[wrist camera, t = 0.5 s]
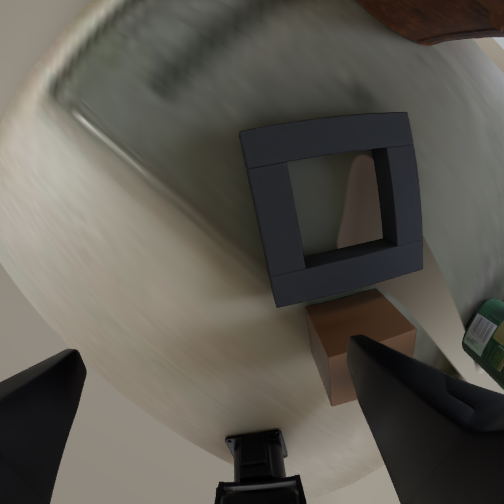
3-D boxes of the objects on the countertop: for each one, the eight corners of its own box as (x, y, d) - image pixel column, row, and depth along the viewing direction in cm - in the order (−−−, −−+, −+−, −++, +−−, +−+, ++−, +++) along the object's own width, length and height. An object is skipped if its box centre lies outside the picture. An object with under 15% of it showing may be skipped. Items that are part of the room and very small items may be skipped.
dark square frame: (407, 259, 22) (423, 269, 20) (272, 293, 23) (276, 308, 20) (391, 116, 19) (407, 111, 16) (238, 135, 19) (238, 131, 17)
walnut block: (376, 334, 25) (413, 384, 17) (311, 353, 25) (333, 412, 17) (376, 288, 23) (421, 333, 16) (305, 306, 23) (330, 363, 16)
